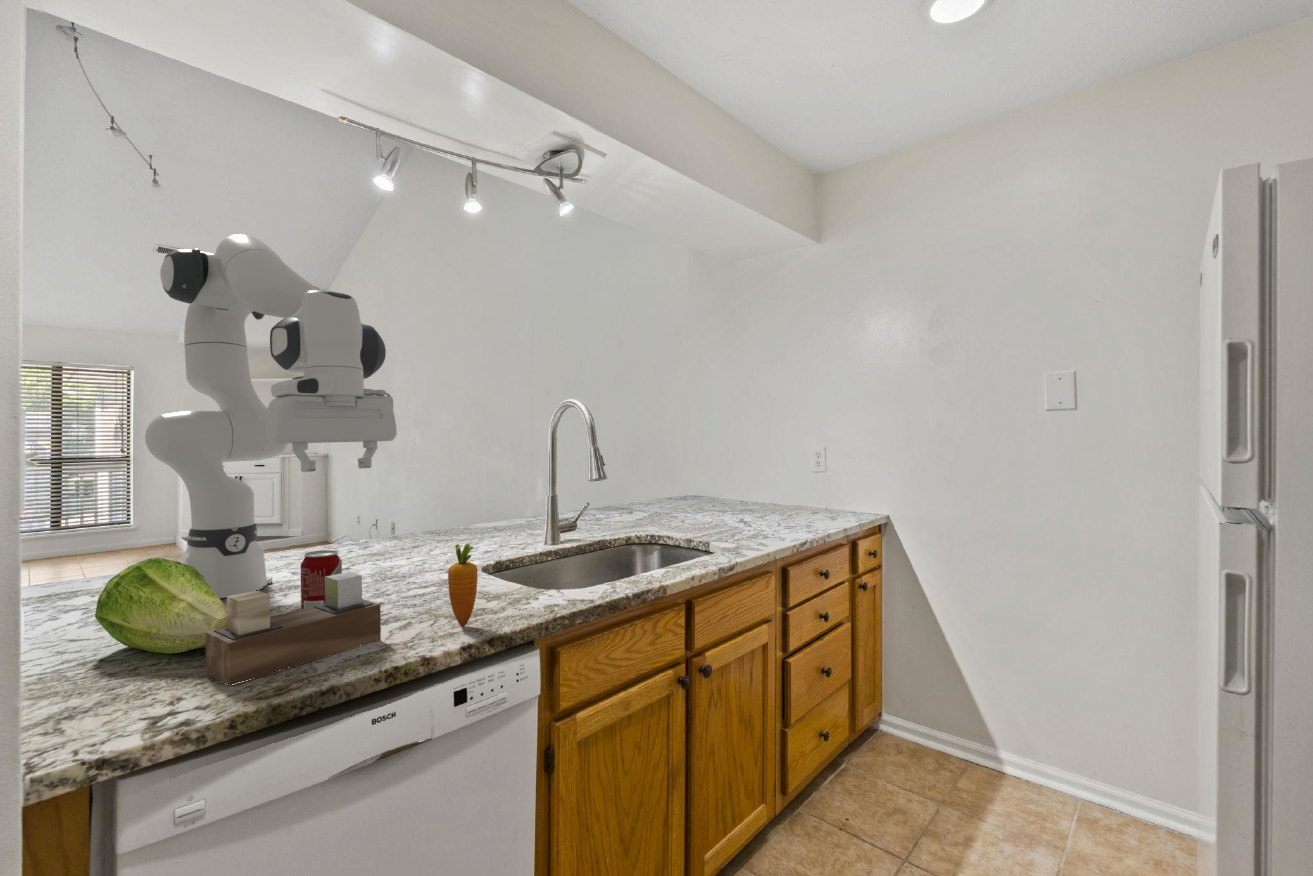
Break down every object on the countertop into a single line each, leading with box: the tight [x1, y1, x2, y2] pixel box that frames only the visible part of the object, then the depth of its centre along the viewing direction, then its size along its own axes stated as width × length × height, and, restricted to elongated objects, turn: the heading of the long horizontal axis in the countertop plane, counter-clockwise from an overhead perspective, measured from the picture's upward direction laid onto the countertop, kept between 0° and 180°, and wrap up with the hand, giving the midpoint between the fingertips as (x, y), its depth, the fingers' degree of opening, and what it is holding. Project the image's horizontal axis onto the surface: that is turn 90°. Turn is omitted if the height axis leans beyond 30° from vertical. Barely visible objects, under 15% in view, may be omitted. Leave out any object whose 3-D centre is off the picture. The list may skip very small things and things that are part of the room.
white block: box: [325, 571, 363, 611], centre depth 100 cm, size 4×4×6 cm
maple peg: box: [226, 590, 271, 636], centre depth 88 cm, size 4×4×6 cm
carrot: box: [447, 543, 478, 628], centre depth 107 cm, size 5×5×15 cm
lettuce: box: [94, 557, 227, 654], centre depth 96 cm, size 14×24×15 cm
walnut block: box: [205, 598, 382, 686], centre depth 94 cm, size 8×22×6 cm, turn 146°
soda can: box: [300, 549, 343, 609], centre depth 114 cm, size 7×7×12 cm
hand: (337, 470), depth 101 cm, fingers open, 8 cm apart
